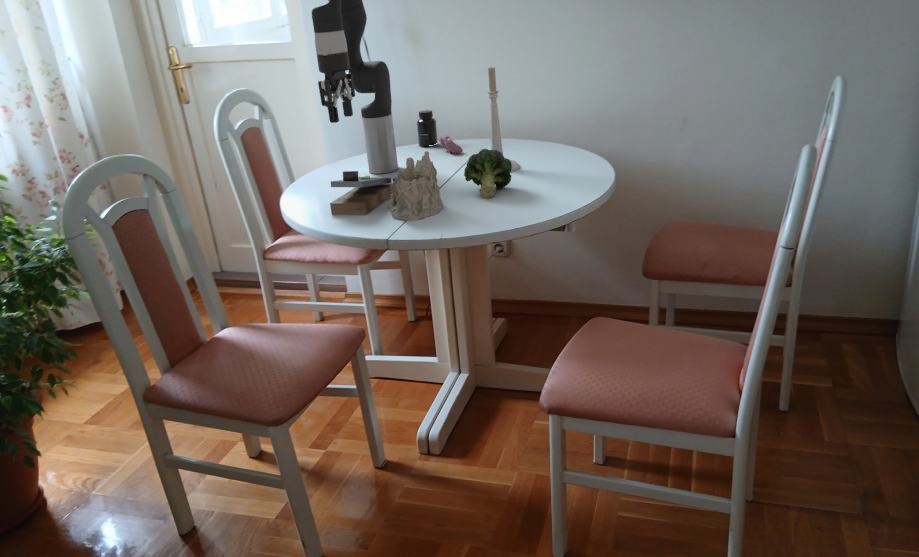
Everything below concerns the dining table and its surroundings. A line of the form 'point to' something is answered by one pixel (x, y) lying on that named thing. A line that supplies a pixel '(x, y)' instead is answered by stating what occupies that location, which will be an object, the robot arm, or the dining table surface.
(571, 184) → the dining table surface
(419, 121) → the supplement bottle
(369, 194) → the brown boxy piece
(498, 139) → the candlestick
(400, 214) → the miniature castle
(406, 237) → the dining table surface
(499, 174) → the vegetable
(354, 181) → the plate
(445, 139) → the pink shoe
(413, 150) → the dining table surface
